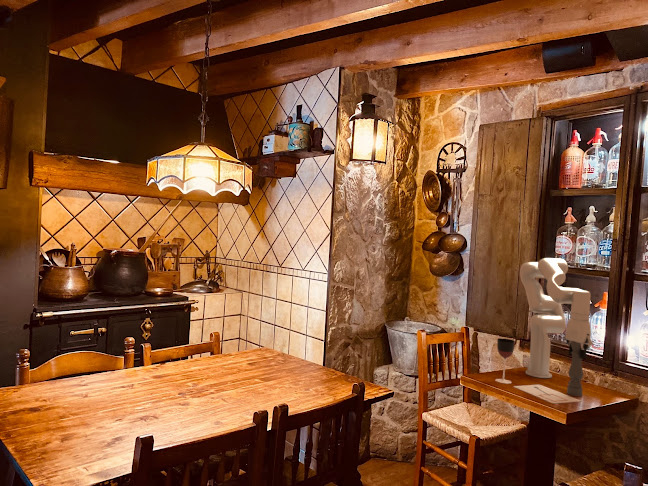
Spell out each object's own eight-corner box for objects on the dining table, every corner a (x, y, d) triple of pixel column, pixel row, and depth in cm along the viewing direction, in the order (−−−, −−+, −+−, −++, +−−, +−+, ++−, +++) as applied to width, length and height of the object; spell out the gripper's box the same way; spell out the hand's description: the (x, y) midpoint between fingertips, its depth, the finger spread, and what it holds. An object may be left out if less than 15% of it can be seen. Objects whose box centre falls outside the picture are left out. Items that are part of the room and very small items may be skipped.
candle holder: (583, 397, 230) (587, 341, 230) (569, 395, 232) (572, 340, 231) (579, 392, 236) (583, 339, 236) (565, 391, 238) (569, 337, 237)
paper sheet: (513, 386, 240) (513, 386, 240) (539, 385, 246) (539, 384, 246) (553, 403, 218) (553, 402, 218) (581, 401, 223) (581, 400, 223)
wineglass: (495, 382, 246) (497, 341, 246) (494, 377, 254) (497, 337, 254) (512, 384, 244) (515, 343, 243) (511, 380, 252) (514, 339, 252)
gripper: (558, 314, 240) (556, 352, 240) (589, 320, 224) (586, 361, 224) (570, 314, 243) (568, 352, 243) (602, 320, 227) (599, 361, 227)
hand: (577, 356), depth 234 cm, fingers closed on candle holder, 5 cm apart
